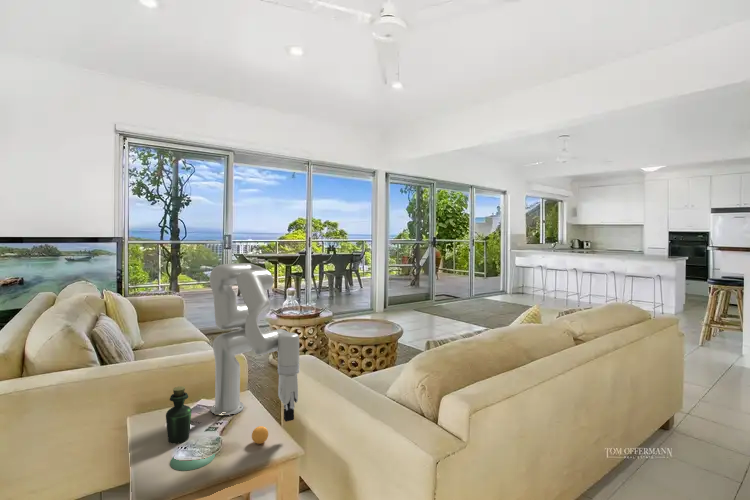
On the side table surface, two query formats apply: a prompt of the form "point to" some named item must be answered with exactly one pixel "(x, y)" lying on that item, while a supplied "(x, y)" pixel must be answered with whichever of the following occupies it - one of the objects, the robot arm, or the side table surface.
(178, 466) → the disc
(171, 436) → the potion bottle
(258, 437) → the ball
